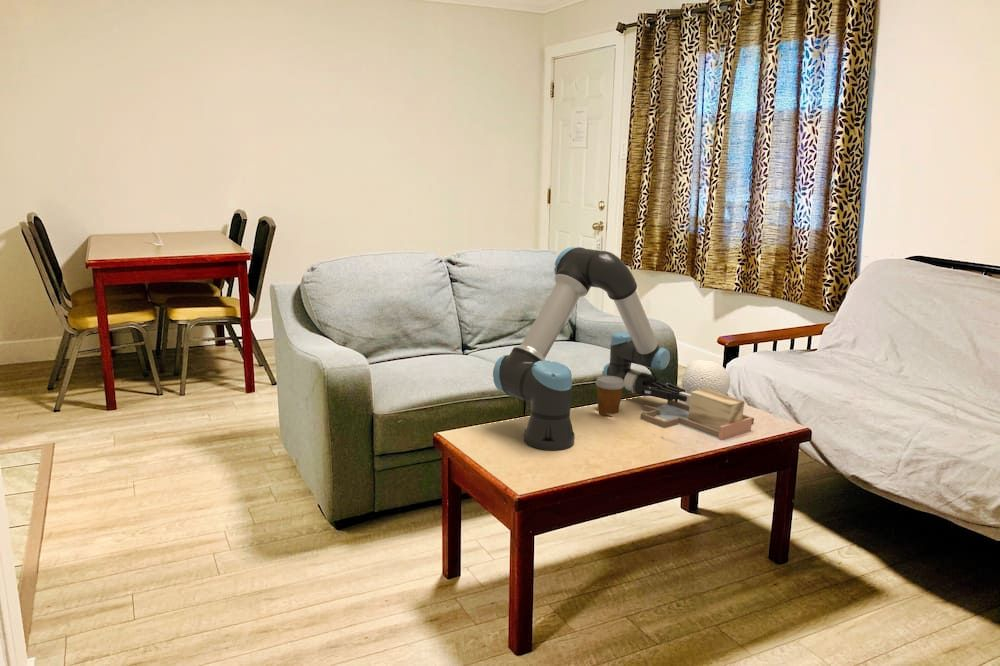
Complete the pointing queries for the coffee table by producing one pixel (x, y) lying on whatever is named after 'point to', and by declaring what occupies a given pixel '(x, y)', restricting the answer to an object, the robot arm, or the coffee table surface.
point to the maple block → (714, 408)
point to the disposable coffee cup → (609, 394)
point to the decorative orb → (705, 377)
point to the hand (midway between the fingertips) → (696, 401)
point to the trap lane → (679, 415)
